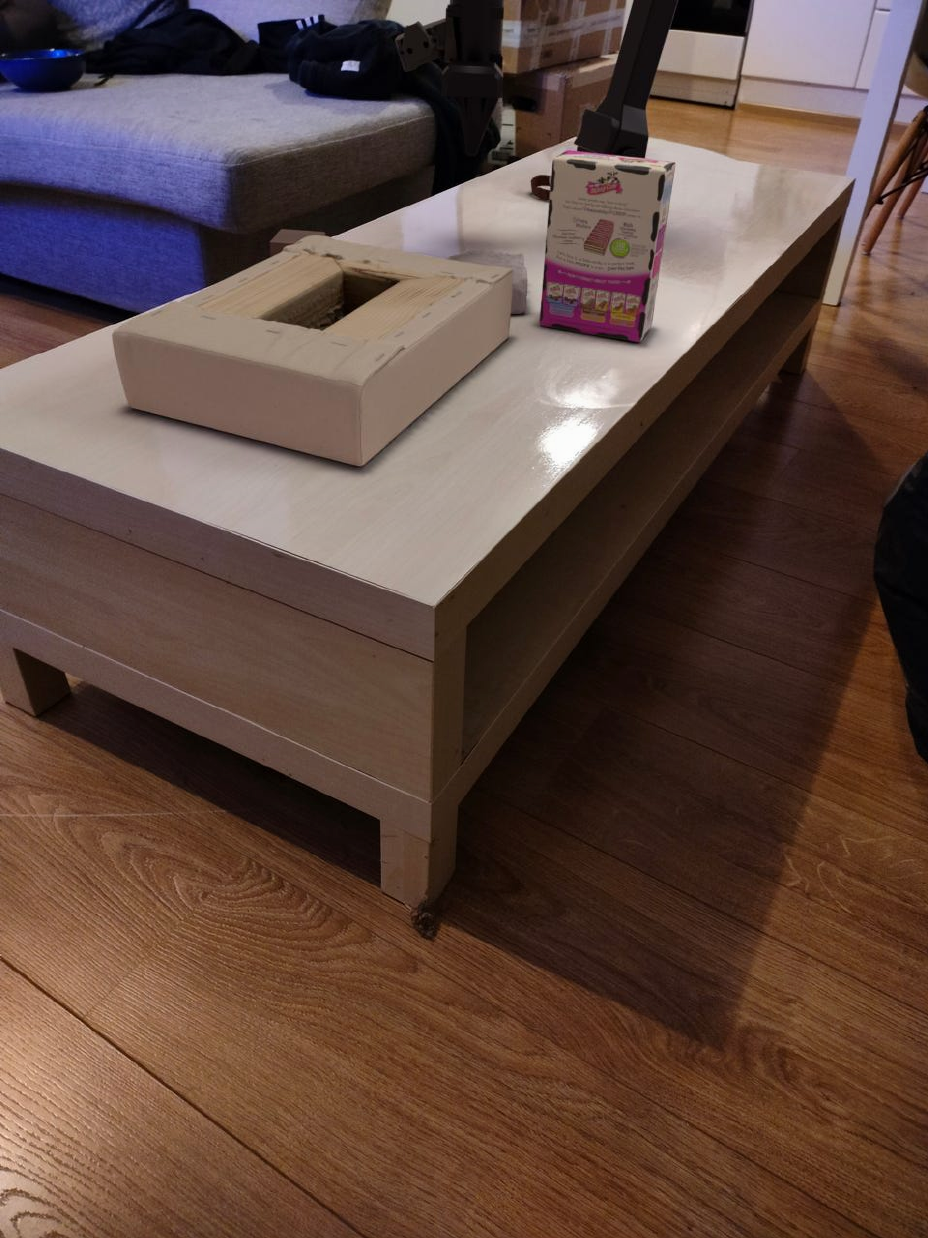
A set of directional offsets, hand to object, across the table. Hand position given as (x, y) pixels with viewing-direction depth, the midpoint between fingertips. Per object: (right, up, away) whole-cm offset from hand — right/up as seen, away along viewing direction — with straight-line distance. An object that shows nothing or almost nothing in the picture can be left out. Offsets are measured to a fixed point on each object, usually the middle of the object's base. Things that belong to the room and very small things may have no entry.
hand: (471, 154), depth 110 cm
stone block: (+1, -17, -2) cm, 17 cm away
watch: (+12, +9, +33) cm, 36 cm away
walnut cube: (-19, -15, -1) cm, 24 cm away
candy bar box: (+13, -22, -9) cm, 27 cm away
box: (-13, -30, -20) cm, 38 cm away
